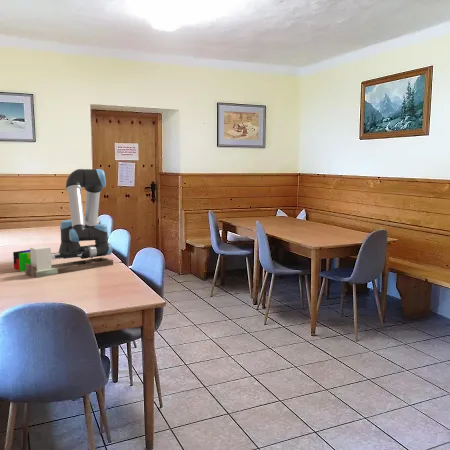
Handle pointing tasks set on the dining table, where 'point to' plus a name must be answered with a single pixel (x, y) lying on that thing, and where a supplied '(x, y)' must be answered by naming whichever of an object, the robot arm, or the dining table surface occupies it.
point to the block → (41, 257)
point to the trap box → (68, 267)
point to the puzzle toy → (21, 259)
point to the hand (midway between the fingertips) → (48, 257)
